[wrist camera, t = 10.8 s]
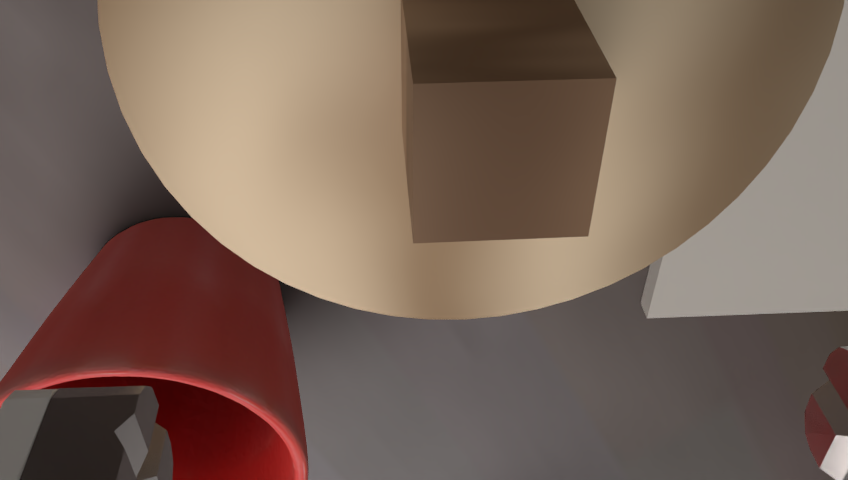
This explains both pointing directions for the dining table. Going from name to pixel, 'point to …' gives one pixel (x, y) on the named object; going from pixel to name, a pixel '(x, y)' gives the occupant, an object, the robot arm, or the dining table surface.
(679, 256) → the mat
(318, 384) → the dining table surface
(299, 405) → the flower pot
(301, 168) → the lid
